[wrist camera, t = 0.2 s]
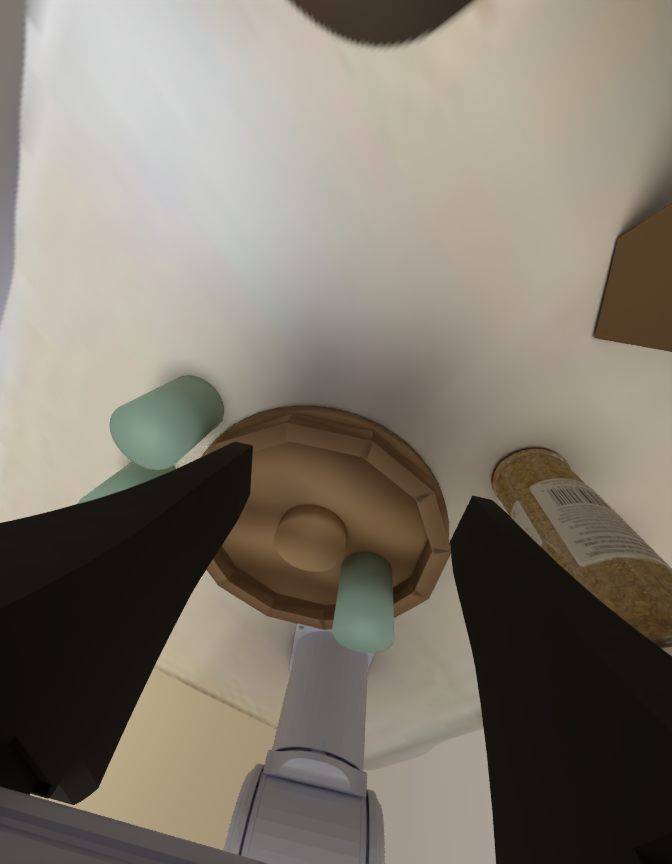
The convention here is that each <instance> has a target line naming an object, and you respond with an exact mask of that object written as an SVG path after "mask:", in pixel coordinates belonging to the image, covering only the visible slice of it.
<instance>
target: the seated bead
mask: <svg viewBox="0 0 672 864" xmlns="http://www.w3.org/2000/svg"><path fill="white" fill-rule="evenodd" d="M332 633H333V636H334V638H335V639H336V640H337V642H339V643H340V644H341V645H342V646H344V647H346V648H348V649H350V650H353V651H356V652H361V653H377V652H381V651H384V650H386V649H388V648H389V647H390V646H391V645H392V644H393V642H394V611H393V575H392V567H391V565H390V563H389V562H388V561H387V560H386V559H385V558H384V557H382V556H380V555H378V554H376V553H372V552H356V553H353V554H350V555H349V556H347V557H346V558H345V559H344V560H343V562H342V566H341V573H340V580H339V587H338V594H337V600H336V607H335V614H334V621H333V627H332Z"/></svg>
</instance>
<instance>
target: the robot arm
mask: <svg viewBox="0 0 672 864" xmlns="http://www.w3.org/2000/svg"><path fill="white" fill-rule="evenodd" d="M252 456H253V445H249V444H244V443H240V442H236V441H235V442H233V443H230V444H228V445H226V446H224V447H222V448H220V449H218V450H215V451H213V452H211V453H209V454H207V455H205V456H203V457H201V458H199V459H197V460H195V461H193V462H190V463H188V464H186V465H184V466H182V467H180V468H177V469H175V470H173V471H170V472H168V473H166V474H163V475H161V476H158V477H156V478H154V479H151V480H149V481H146V482H144V483H141V484H139V485H136V486H133V487H130V488H128V489H125V490H122V491H119V492H116V493H113V494H110V495H107V496H104V497H101V498H97V499H94V500H90V501H87V502H83V503H80V504H76V505H72V506H69V507H65V508H62V509H58V510H54V511H51V512H47V513H43V514H39V515H34V516H30V517H26V518H21V519H17V520H12V521H8V522H3V523H0V864H384V824H383V814H382V808H381V805H380V803H379V801H378V799H377V798H376V794H375V792H374V791H372V790H369V789H367V773H366V772H363V767H364V743H365V720H366V696H367V672H368V669H369V667H370V664H371V662H372V659H373V657H374V655H375V653H361V652H356V651H353V650H350V649H348V648H346V647H344V646H342V645H341V644H340V643H339V642H337V640H336V639H335V638H334V636H333V633H332V629H330V630H322V629H318V628H314V627H310V626H306V625H302V624H298V623H297V626H296V631H295V637H294V642H293V648H292V653H291V659H290V664H289V671H291V672H290V676H289V681H288V685H287V689H286V693H285V697H284V702H283V706H282V710H281V714H280V719H279V723H278V727H277V731H276V736H275V740H274V744H273V748H272V750H269V751H268V753H267V757H266V761H265V765H263V764H257V765H256V766H255V767H254V769H252V770H251V772H249V773H248V774H247V776H246V778H245V780H244V782H243V785H242V788H241V790H240V793H239V796H238V799H237V802H236V806H235V809H234V813H233V816H232V820H231V823H230V827H229V831H228V835H227V838H226V842H225V847H224V851H223V850H219V849H216V848H212V847H209V846H205V845H201V844H198V843H195V842H191V841H187V840H184V839H181V838H177V837H174V836H170V835H167V834H163V833H160V832H156V831H153V830H149V829H146V828H142V827H139V826H135V825H132V824H129V823H125V822H122V821H118V820H114V819H111V818H108V817H104V816H101V815H97V814H94V813H90V812H87V811H83V810H79V809H76V808H73V807H69V806H66V805H62V804H58V803H55V802H51V801H48V800H45V799H41V798H38V797H34V796H31V795H30V794H34V795H38V796H41V797H44V798H51V799H54V800H58V801H62V802H65V803H68V804H72V805H75V804H77V803H79V802H81V801H82V800H84V799H85V798H87V797H88V796H90V795H91V794H92V793H93V792H94V791H95V790H97V789H98V788H99V785H100V783H101V781H102V778H103V776H104V774H105V772H106V769H107V767H108V765H109V763H110V761H111V758H112V756H113V754H114V752H115V749H116V747H117V745H118V743H119V741H120V738H121V736H122V734H123V732H124V730H125V727H126V725H127V722H128V721H129V719H130V716H131V714H132V712H133V710H134V707H135V706H136V704H137V701H138V699H139V697H140V695H141V693H142V691H143V689H144V687H145V685H146V683H147V681H148V678H149V676H150V674H151V672H152V670H153V668H154V666H155V664H156V662H157V660H158V658H159V656H160V654H161V652H162V650H163V648H164V646H165V644H166V642H167V640H168V638H169V636H170V634H171V632H172V630H173V628H174V626H175V624H176V622H177V620H178V618H179V616H180V614H181V613H182V611H183V609H184V607H185V605H186V603H187V601H188V599H189V597H190V595H191V594H192V592H193V590H194V588H195V587H196V585H197V583H198V582H199V580H200V578H201V577H202V575H203V574H204V572H205V571H206V569H207V568H208V566H209V565H210V563H211V562H212V560H213V558H214V557H215V555H216V554H217V552H218V551H219V549H220V548H221V546H222V545H223V543H224V541H225V540H226V538H227V537H228V535H229V534H230V532H231V531H232V529H233V527H234V526H235V524H236V523H237V521H238V519H239V517H240V515H241V513H242V511H243V509H244V507H245V505H246V503H247V500H248V498H249V496H250V490H251V473H252ZM450 546H451V558H452V566H453V573H454V578H455V582H456V586H457V591H458V595H459V599H460V603H461V607H462V611H463V615H464V620H465V624H466V628H467V632H468V636H469V640H470V644H471V648H472V653H473V658H474V663H475V668H476V675H477V682H478V689H479V696H480V703H481V710H482V718H483V726H484V734H485V741H486V751H487V760H488V770H489V781H490V791H491V801H492V810H493V825H494V838H495V853H496V864H672V656H671V655H670V654H668V653H667V652H665V651H664V650H663V649H661V648H660V647H659V646H657V645H656V644H654V643H653V642H652V641H651V640H649V639H648V638H647V637H645V636H644V635H643V634H641V633H640V632H639V631H637V630H636V629H635V628H634V627H632V626H631V625H630V624H628V623H627V622H626V621H625V620H624V619H622V618H621V617H620V616H619V615H617V614H616V613H615V612H614V611H612V610H611V609H610V608H609V607H607V606H606V605H605V604H604V603H602V602H601V601H600V600H599V599H598V598H597V597H595V596H594V595H593V594H592V593H591V592H589V591H588V590H587V589H586V588H585V587H584V586H583V585H582V584H580V583H579V582H578V581H577V580H576V579H575V578H574V577H573V576H572V575H570V574H569V573H568V572H567V571H566V570H565V569H564V568H563V567H562V566H561V565H559V564H558V563H557V562H556V561H555V560H554V559H553V558H552V557H551V556H550V555H549V554H548V553H547V552H546V551H545V550H544V549H543V548H542V547H541V546H539V545H538V544H537V543H536V542H535V541H534V540H533V539H532V538H531V537H530V536H529V535H528V534H527V533H526V532H525V531H524V530H523V529H522V528H521V527H520V526H519V525H518V524H517V523H516V522H515V521H514V520H513V519H512V518H511V517H510V516H509V515H508V514H507V513H506V512H505V511H504V510H503V509H502V508H501V507H499V506H498V505H497V504H496V503H495V502H494V501H492V500H490V499H485V498H481V497H477V496H472V498H471V500H470V502H469V504H468V506H467V508H466V510H465V512H464V514H463V516H462V518H461V520H460V522H459V524H458V526H457V528H456V530H455V532H454V535H453V537H452V539H451V541H450Z"/></svg>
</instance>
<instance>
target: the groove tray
mask: <svg viewBox="0 0 672 864" xmlns="http://www.w3.org/2000/svg"><path fill="white" fill-rule="evenodd" d="M235 441H236V442H240V443H244V444H249V445H253V456H252V473H251V490H250V496H249V498H248V500H247V503H246V505H245V507H244V509H243V511H242V513H241V515H240V517H239V519H238V521H237V523H236V524H235V526H234V527H233V529H232V531H231V532H230V534H229V535H228V537H227V538H226V540H225V541H224V543H223V545H222V546H221V548H220V549H219V551H218V552H217V554H216V555H215V557H214V558H213V560H212V562H211V563H210V565H209V566H208V568H207V569H206V570H207V571H208V572H209V574H210V575H211V576H212V578H213V579H214V580H215V582H216V583H217V585H218V586H220V587H221V588H223V589H225V590H226V591H228V592H229V593H231V594H233V595H234V596H236V597H237V598H239V599H241V600H242V601H244V602H245V603H247V604H249V605H250V606H252V607H253V608H255V609H257V610H258V611H260V612H262V613H263V614H265V615H266V616H269V617H273V618H277V619H281V620H286V621H290V622H294V623H298V624H302V625H306V626H310V627H314V628H318V629H322V630H330V629H332V627H333V621H334V614H335V607H336V600H337V594H338V587H339V580H340V573H341V566H342V562H343V560H344V559H345V558H346V557H347V556H349V555H350V554H353V553H356V552H372V553H376V554H378V555H380V556H382V557H384V558H385V559H386V560H387V561H388V562H389V563H390V565H391V567H392V575H393V611H394V618H395V617H397V616H399V615H400V614H402V613H404V612H406V611H408V610H409V609H411V608H413V607H415V606H417V605H418V604H420V603H422V602H424V601H426V600H427V599H429V597H430V595H431V593H432V591H433V589H434V587H435V585H436V583H437V581H438V579H439V577H440V575H441V573H442V571H443V568H444V566H445V564H446V562H447V560H448V558H449V556H450V554H451V547H450V543H449V539H448V538H449V521H448V515H447V510H446V505H445V502H444V498H443V495H442V492H441V490H440V487H439V484H438V482H437V481H436V479H435V477H434V475H433V473H432V472H431V470H430V469H429V467H428V466H427V465H426V463H425V462H424V461H423V460H422V458H421V457H420V456H419V455H418V454H417V453H416V452H415V451H414V450H413V449H412V448H411V447H410V446H409V445H408V444H407V443H406V442H404V441H403V440H401V439H400V438H399V437H397V436H396V435H395V434H393V433H392V432H390V431H389V430H387V429H385V428H383V427H382V426H380V425H378V424H376V423H374V422H372V421H370V420H367V419H365V418H362V417H360V416H357V415H354V414H351V413H347V412H344V411H340V410H336V409H329V408H323V407H313V406H293V407H284V408H276V409H272V410H268V411H264V412H260V413H258V414H255V415H253V416H250V417H248V418H245V419H243V420H242V421H240V422H238V423H237V424H235V425H233V426H231V427H230V428H229V429H228V430H227V431H225V432H224V433H223V434H222V435H220V436H219V437H218V438H217V439H216V440H215V441H214V442H213V443H212V444H211V445H210V447H209V448H208V449H207V450H206V451H205V452H204V454H203V455H202V457H203V456H205V455H207V454H209V453H211V452H213V451H215V450H218V449H220V448H222V447H224V446H226V445H228V444H230V443H233V442H235Z"/></svg>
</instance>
